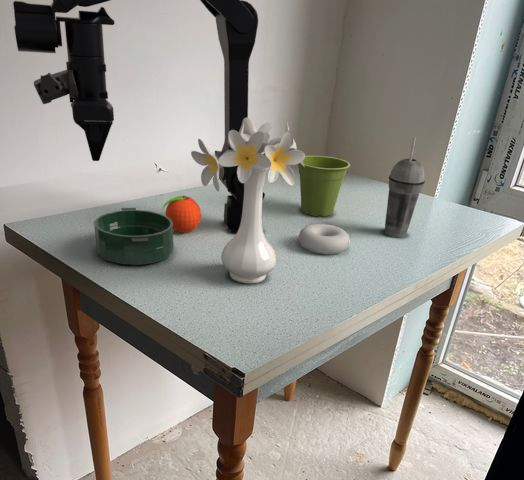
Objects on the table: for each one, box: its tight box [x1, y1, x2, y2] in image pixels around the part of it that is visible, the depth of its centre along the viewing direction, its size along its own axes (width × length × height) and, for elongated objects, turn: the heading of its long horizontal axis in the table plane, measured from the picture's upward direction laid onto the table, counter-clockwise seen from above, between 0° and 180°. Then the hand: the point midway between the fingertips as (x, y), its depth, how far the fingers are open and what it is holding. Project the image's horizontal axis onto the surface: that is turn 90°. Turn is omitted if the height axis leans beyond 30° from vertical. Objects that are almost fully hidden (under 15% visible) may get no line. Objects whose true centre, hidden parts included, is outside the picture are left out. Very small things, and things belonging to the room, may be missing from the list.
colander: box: [93, 209, 174, 266], centre depth 99 cm, size 13×13×6 cm
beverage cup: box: [384, 136, 426, 238], centre depth 114 cm, size 7×7×20 cm
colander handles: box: [121, 207, 149, 245], centre depth 98 cm, size 3×17×1 cm, turn 18°
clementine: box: [161, 195, 202, 233], centre depth 109 cm, size 8×7×7 cm
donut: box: [298, 223, 351, 255], centre depth 109 cm, size 10×4×10 cm
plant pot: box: [297, 155, 351, 217], centre depth 125 cm, size 12×12×11 cm
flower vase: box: [190, 117, 306, 285], centre depth 88 cm, size 13×18×25 cm
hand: (93, 154), depth 99 cm, fingers open, 9 cm apart
